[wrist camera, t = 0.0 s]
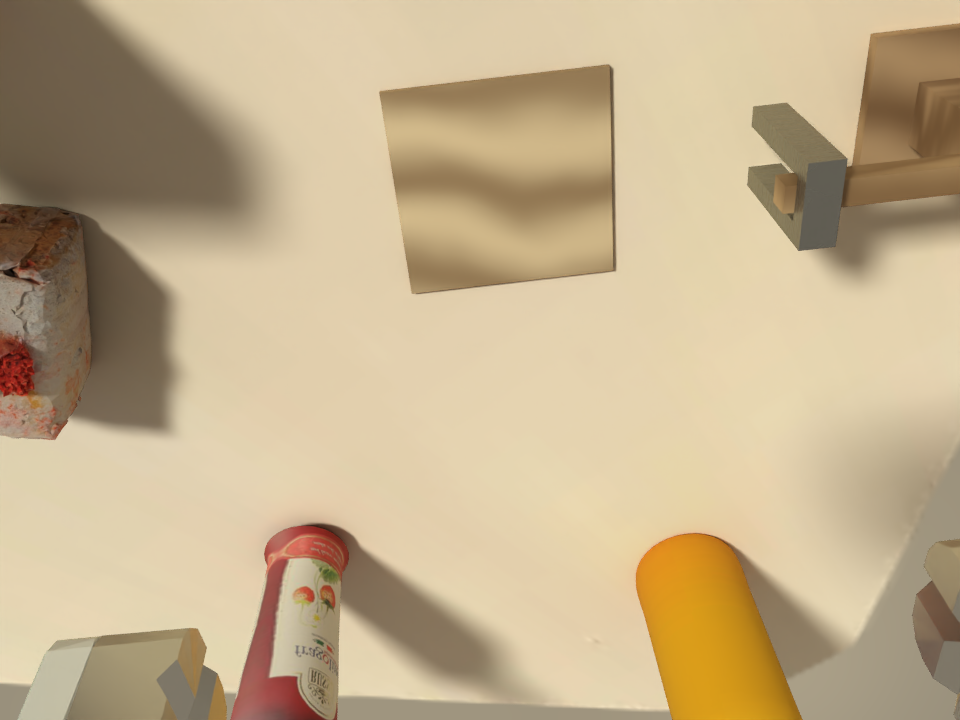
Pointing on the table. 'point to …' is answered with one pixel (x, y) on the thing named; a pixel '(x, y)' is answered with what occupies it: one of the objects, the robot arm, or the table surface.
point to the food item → (41, 320)
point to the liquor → (295, 630)
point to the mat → (503, 177)
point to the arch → (800, 176)
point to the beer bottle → (709, 634)
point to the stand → (902, 122)
